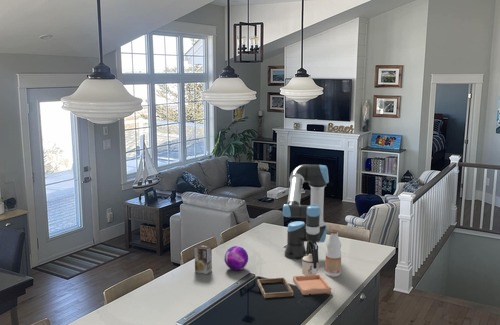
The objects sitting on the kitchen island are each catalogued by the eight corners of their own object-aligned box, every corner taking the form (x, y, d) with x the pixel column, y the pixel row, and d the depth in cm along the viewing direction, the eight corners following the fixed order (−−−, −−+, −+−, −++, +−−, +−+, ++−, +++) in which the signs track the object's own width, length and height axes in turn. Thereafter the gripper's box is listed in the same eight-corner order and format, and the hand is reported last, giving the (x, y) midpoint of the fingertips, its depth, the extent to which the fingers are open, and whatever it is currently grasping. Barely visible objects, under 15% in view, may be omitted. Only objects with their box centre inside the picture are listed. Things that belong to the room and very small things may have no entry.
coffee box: (212, 270, 316) (212, 246, 313) (207, 274, 310) (206, 249, 308) (199, 268, 320) (199, 244, 317) (194, 272, 314) (194, 247, 311)
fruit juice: (330, 278, 306) (332, 234, 301) (322, 272, 314) (323, 229, 309) (343, 275, 310) (345, 232, 305) (334, 270, 318) (336, 227, 313)
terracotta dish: (292, 280, 301) (292, 276, 301) (319, 278, 304) (319, 274, 304) (302, 295, 282) (302, 290, 281) (330, 292, 285) (330, 288, 284)
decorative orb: (253, 269, 319) (253, 246, 317) (236, 275, 308) (236, 252, 306) (236, 263, 329) (236, 241, 327) (219, 269, 319) (219, 246, 316)
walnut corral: (257, 283, 298) (257, 279, 297) (284, 281, 301) (284, 277, 300) (264, 298, 278) (264, 293, 277) (293, 295, 281) (293, 291, 280)
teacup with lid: (309, 277, 285) (309, 258, 283) (298, 272, 292) (298, 253, 290) (324, 273, 292) (325, 254, 290) (313, 268, 299) (314, 249, 297)
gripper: (301, 227, 297) (300, 263, 301) (312, 238, 276) (311, 277, 280) (313, 227, 299) (312, 263, 302) (325, 238, 278) (323, 276, 281)
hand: (311, 270), depth 291 cm, fingers closed on teacup with lid, 9 cm apart
